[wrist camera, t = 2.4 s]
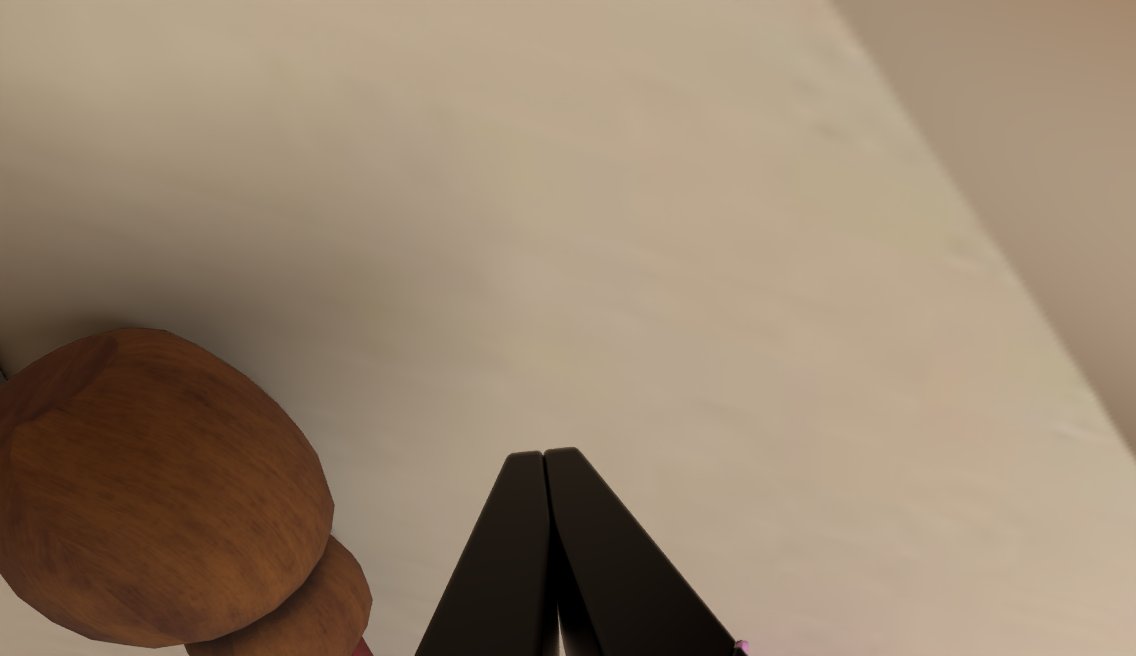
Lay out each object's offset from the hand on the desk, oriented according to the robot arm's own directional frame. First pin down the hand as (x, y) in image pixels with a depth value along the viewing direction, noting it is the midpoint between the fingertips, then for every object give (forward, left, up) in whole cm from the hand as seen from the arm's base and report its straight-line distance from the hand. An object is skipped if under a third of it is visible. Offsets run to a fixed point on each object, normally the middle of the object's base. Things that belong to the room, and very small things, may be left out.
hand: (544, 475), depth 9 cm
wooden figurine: (-3, +10, -7) cm, 13 cm away
